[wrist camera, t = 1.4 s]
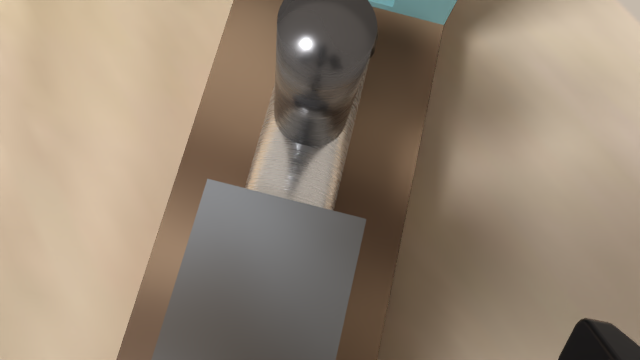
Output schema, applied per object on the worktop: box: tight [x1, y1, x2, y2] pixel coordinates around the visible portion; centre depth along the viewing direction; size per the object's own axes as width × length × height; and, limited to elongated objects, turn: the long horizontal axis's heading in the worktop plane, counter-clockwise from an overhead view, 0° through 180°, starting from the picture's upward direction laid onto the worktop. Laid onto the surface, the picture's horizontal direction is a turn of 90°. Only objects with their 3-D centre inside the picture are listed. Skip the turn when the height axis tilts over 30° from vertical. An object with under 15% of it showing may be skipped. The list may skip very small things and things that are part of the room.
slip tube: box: [245, 0, 378, 211], centre depth 16 cm, size 13×3×8 cm, turn 167°
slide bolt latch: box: [117, 0, 444, 360], centre depth 19 cm, size 24×8×6 cm, turn 167°
